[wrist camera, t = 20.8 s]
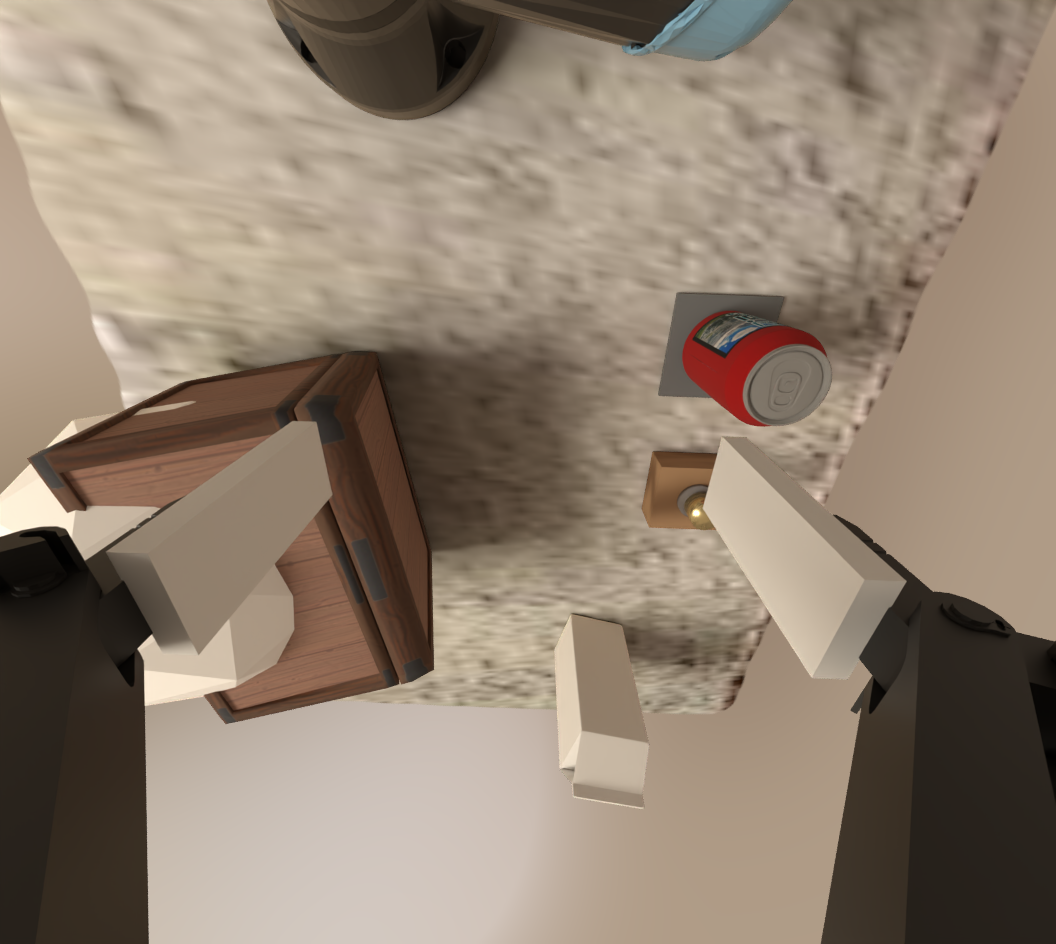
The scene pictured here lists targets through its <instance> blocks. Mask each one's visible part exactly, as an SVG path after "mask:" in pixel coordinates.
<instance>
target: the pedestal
mask: <svg viewBox="0 0 1056 944" xmlns="http://www.w3.org/2000/svg"><path fill="white" fill-rule="evenodd" d="M716 457H717V454H708V453H681V452H652V458H651V463H650V468H649V474H648V479H647V484H646V489H645V495H644V500H643V505H642V511H643V513H644V515H645V518H646V520H647V523H648V525H649V527H652V528H679V529H697V528H696V527H694V526H693V524H692V522H691V521H690V519H689V517H688V515H687V514H686V512H685V510H684V504H685V501H686V500H687V499H688V498H689V497H690V496H691V495H693V494H695V493H700V492H702V493H707V491H708V487H709V483H710V480H711V476H712V472H713V469H714V465H715V461H716ZM708 530H716V528H715V527H714V528H712V529H708Z"/></svg>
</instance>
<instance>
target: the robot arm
mask: <svg viewBox="0 0 1056 944" xmlns="http://www.w3.org/2000/svg"><path fill="white" fill-rule="evenodd" d="M267 2H268V4H269V6H270V8H271V10H272V12H273V15H274V17H275V19H276V21H277V22H278V24H279V26H280V28H281V30H282V31H283V33H284V35H285V36H286V38H287V39H288V41H289V42H290V44H291V45H292V47H293V48H294V50H295V51H296V52H297V54H298V55H299V56H300V58H301V59H302V60H303V61H304V63H305V64H306V65H307V66H308V67H309V68H310V69H311V71H312V72H313V73H314V74H315V75H316V76H317V77H318V78H319V79H320V80H322V81H323V82H324V83H325V84H326V85H327V86H329V87H330V88H331V89H332V90H334V91H335V92H336V93H337V94H339V95H340V96H341V97H343V98H344V99H345V100H347V101H348V102H350V103H351V104H353V105H354V106H356V107H358V108H360V109H361V110H364V111H366V112H368V113H371V114H373V115H376V116H380V117H383V118H388V119H396V120H409V119H417V118H421V117H425V116H428V115H431V114H433V113H436V112H438V111H439V110H441V109H443V108H445V107H446V106H448V105H449V104H451V103H452V102H453V101H454V100H456V99H457V98H458V97H459V96H460V95H461V94H462V93H463V92H464V91H465V90H466V89H467V88H468V86H469V85H470V84H471V83H472V81H473V80H474V79H475V77H476V75H477V74H478V72H479V71H480V69H481V67H482V65H483V63H484V61H485V59H486V57H487V55H488V53H489V50H490V48H491V45H492V42H493V39H494V36H495V33H496V29H497V25H498V20H499V15H500V14H501V15H505V16H509V17H513V18H516V19H520V20H524V21H528V22H532V23H536V24H540V25H543V26H547V27H551V28H555V29H559V30H563V31H567V32H571V33H574V34H578V35H582V36H586V37H590V38H594V39H598V40H602V41H605V42H609V43H613V44H617V45H621V46H622V48H623V51H624V52H625V53H628V54H631V55H634V56H642V55H646V54H649V53H652V52H654V53H659V54H665V55H670V56H675V57H680V58H685V59H691V60H696V61H711V60H717V59H720V58H723V57H725V56H726V55H728V54H730V53H731V52H733V51H734V50H736V49H737V48H739V47H742V46H745V45H746V44H748V43H749V42H751V41H752V40H753V39H755V38H756V37H757V36H758V35H759V34H760V33H761V32H763V31H764V30H765V29H766V28H767V27H768V26H769V25H770V24H771V23H772V22H773V21H774V20H775V19H776V18H777V17H778V16H779V15H780V14H781V13H782V12H783V11H784V9H785V8H786V7H787V6H788V5H789V4H790V3H791V2H792V0H267ZM331 496H332V491H331V486H330V482H329V477H328V473H327V468H326V463H325V459H324V454H323V450H322V445H321V441H320V436H319V432H318V427H317V423H316V422H308V421H292V422H290V423H289V424H288V425H286V426H285V427H283V428H282V429H280V430H279V431H278V432H276V433H275V434H273V435H272V436H270V437H269V438H268V439H266V440H265V441H263V442H262V443H260V444H259V445H258V446H256V447H255V448H253V449H252V450H250V451H249V452H248V453H246V454H245V455H243V456H242V457H241V458H239V459H238V460H236V461H235V462H233V463H232V464H231V465H229V466H228V467H226V468H225V469H223V470H222V471H221V472H219V473H218V474H216V475H215V476H213V477H212V478H211V479H209V480H208V481H206V482H205V483H203V484H202V485H201V486H199V487H198V488H196V489H195V490H193V491H192V492H191V493H189V494H188V495H186V496H184V497H181V498H179V499H177V500H175V501H172V502H170V503H168V504H167V505H165V506H164V507H162V508H161V509H160V510H158V511H157V512H155V513H154V514H152V515H151V518H146V519H145V520H144V521H142V522H141V523H139V524H138V525H136V528H132V529H130V530H129V531H128V532H126V533H125V534H123V535H122V536H120V537H119V538H117V539H116V540H114V541H113V542H112V543H110V544H109V545H107V546H106V547H104V548H103V549H101V550H100V551H98V552H97V553H96V554H94V555H93V556H91V557H90V558H88V559H87V560H84V558H83V557H82V555H81V553H80V552H79V550H78V548H77V547H76V545H75V543H74V542H73V540H72V538H71V537H70V535H69V533H68V531H67V530H66V529H65V528H61V527H58V526H44V527H36V528H31V529H25V530H21V531H17V532H14V533H11V534H7V535H4V536H1V537H0V944H149V936H148V935H149V933H148V877H147V876H148V873H147V813H146V759H145V758H146V756H145V755H146V754H145V692H144V660H143V658H142V656H141V654H140V652H139V650H138V648H139V647H140V646H141V645H142V644H143V643H144V642H145V641H146V640H147V639H148V638H149V637H150V636H151V635H152V636H153V637H154V639H155V641H156V643H157V645H158V646H159V648H160V650H161V652H162V653H163V654H177V655H199V654H200V653H201V652H202V651H203V649H204V648H205V647H206V646H207V645H208V643H209V642H210V641H211V640H212V639H213V637H214V636H215V635H216V634H217V633H218V631H219V630H220V629H221V628H222V627H223V625H224V624H225V623H226V622H227V621H228V619H229V618H230V617H231V616H232V615H233V613H234V612H235V611H236V610H237V609H238V607H239V606H240V605H241V604H242V603H243V601H244V600H245V599H246V598H247V597H248V595H249V594H250V593H251V592H252V591H253V589H254V588H255V587H256V586H257V585H258V583H259V582H260V581H261V580H262V579H263V577H264V576H265V575H266V574H267V573H268V571H269V570H270V569H271V568H272V567H273V565H274V564H275V563H276V562H277V561H278V559H279V558H280V557H281V556H282V555H283V553H284V552H285V551H286V550H287V549H288V547H289V546H290V545H291V544H292V543H293V541H294V540H295V539H296V538H297V537H298V535H299V534H300V533H301V532H302V531H303V529H304V528H305V527H306V526H307V525H308V523H309V522H310V521H311V520H312V519H313V517H314V516H315V515H316V514H317V513H318V511H319V510H320V509H321V508H322V507H323V506H324V504H325V503H326V502H327V501H328V500H329V498H330V497H331ZM703 510H704V511H705V513H706V514H707V516H708V517H709V519H710V520H711V522H712V524H713V525H714V527H715V528H716V530H717V531H718V533H719V534H720V536H721V538H722V539H723V541H724V542H725V544H726V545H727V547H728V548H729V550H730V552H731V553H732V555H733V556H734V558H735V559H736V561H737V562H738V564H739V566H740V567H741V569H742V570H743V572H744V573H745V575H746V576H747V578H748V580H749V581H750V583H751V584H752V586H753V587H754V589H755V590H756V592H757V594H758V595H759V597H760V598H761V600H762V601H763V603H764V604H765V606H766V608H767V609H768V611H769V612H770V614H771V615H772V617H773V618H774V620H775V622H776V623H777V625H778V626H779V628H780V629H781V631H782V633H783V634H784V635H785V637H786V639H787V640H788V642H789V643H790V645H791V647H792V648H793V650H794V651H795V653H796V654H797V656H798V657H799V659H800V661H801V662H802V664H803V665H804V667H805V668H806V670H807V671H808V673H809V675H810V676H811V677H812V678H824V679H825V678H826V679H848V678H849V676H850V675H851V673H852V671H853V670H854V668H855V666H856V665H857V663H858V661H859V660H861V662H862V663H863V664H864V665H865V667H866V668H867V669H868V670H869V671H870V673H871V674H872V675H873V676H872V677H871V679H870V680H869V682H868V684H867V685H866V687H865V688H864V690H863V691H862V693H861V694H860V696H859V698H858V699H857V701H856V702H855V704H854V706H853V707H852V708H851V711H852V712H854V713H856V714H857V713H858V711H859V710H860V708H861V713H860V719H859V726H858V731H857V737H856V742H855V748H854V754H853V760H852V766H851V772H850V777H849V783H848V789H847V795H846V801H845V807H844V812H843V818H842V824H841V830H840V835H839V841H838V847H837V853H836V859H835V864H834V871H833V876H832V882H831V888H830V894H829V899H828V905H827V911H826V917H825V923H824V928H823V935H822V941H821V944H1056V641H1055V642H1054V641H1050V640H1046V639H1042V638H1037V637H1034V636H1030V635H1025V634H1021V633H1017V632H1016V631H1015V629H1014V628H1013V627H1012V626H1011V625H1010V624H1009V623H1008V622H1006V621H1005V620H1004V619H1003V618H1002V617H1001V616H999V615H998V614H996V613H994V612H993V611H991V610H989V609H988V608H986V607H985V606H982V605H980V604H978V603H976V602H974V601H971V600H969V599H967V598H964V597H960V596H957V595H953V594H950V593H942V592H933V591H931V590H930V589H929V588H928V587H927V586H925V584H923V583H922V582H921V581H920V580H919V579H918V578H916V577H915V576H914V575H913V574H912V573H911V572H909V571H908V570H907V569H906V568H905V567H904V566H903V565H901V564H900V563H899V562H898V561H897V560H896V559H894V558H893V557H892V556H891V555H889V554H886V551H885V550H884V549H883V548H882V547H881V546H879V545H878V544H877V543H873V540H872V539H871V538H870V537H869V536H868V535H867V534H865V533H864V532H863V531H862V530H861V529H860V528H858V527H857V526H855V525H853V524H852V523H850V522H848V521H846V520H845V519H843V518H841V517H839V516H837V515H832V514H831V513H830V512H829V511H828V510H826V509H825V508H824V507H823V506H822V505H821V504H820V503H819V502H817V501H816V500H815V499H814V498H813V497H812V496H811V495H810V494H809V493H807V492H806V491H805V490H804V489H803V488H802V487H801V486H800V485H799V484H797V483H796V482H795V481H794V480H793V479H792V478H791V477H790V476H788V475H787V474H786V473H785V472H784V471H783V470H782V469H781V468H780V467H778V466H777V465H776V464H775V463H774V462H773V461H772V460H771V459H769V458H768V457H767V456H766V455H765V454H764V453H763V452H762V451H761V450H759V449H758V448H757V447H756V446H755V445H754V444H753V443H752V442H751V441H749V440H748V439H747V438H746V437H722V439H721V443H720V446H719V450H718V454H717V457H716V461H715V465H714V469H713V472H712V476H711V480H710V483H709V487H708V491H707V494H706V498H705V502H704V505H703Z"/></svg>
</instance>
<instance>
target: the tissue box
mask: <svg viewBox="0 0 1056 944" xmlns="http://www.w3.org/2000/svg"><path fill="white" fill-rule="evenodd" d="M292 421H308V422H316V423H317V427H318V432H319V436H320V441H321V445H322V450H323V454H324V459H325V463H326V468H327V473H328V477H329V482H330V486H331V491H332V496H331V497H330V498H329V500H328V501H327V502H326V503H325V504H324V506H323V507H322V508H321V509H320V510H319V511H318V513H317V514H316V515H315V516H314V517H313V519H312V520H311V521H310V522H309V523H308V525H307V526H306V527H305V528H304V529H303V531H302V532H301V533H300V534H299V535H298V537H297V538H296V539H295V540H294V541H293V543H292V544H291V545H290V546H289V547H288V549H287V550H286V551H285V552H284V553H283V555H282V556H281V557H280V558H279V559H278V561H277V562H276V563H275V564H274V565H273V567H272V568H271V569H270V570H269V571H268V573H267V574H266V575H265V576H264V577H263V579H262V580H261V581H260V582H259V583H258V585H257V586H256V587H255V588H254V589H253V591H252V592H251V593H250V594H249V595H248V597H247V598H246V599H245V600H244V601H243V603H242V604H241V605H240V606H239V607H238V609H237V610H236V611H235V612H234V613H233V615H232V616H231V617H230V618H229V619H228V621H227V622H226V623H225V624H224V625H223V627H222V628H221V629H220V630H219V631H218V633H217V634H216V635H215V636H214V637H213V639H212V640H211V641H210V642H209V643H208V645H207V646H206V647H205V648H204V649H203V651H202V652H201V653H200V654H199V655H177V654H163V653H162V652H161V650H160V648H159V646H158V645H157V643H156V641H155V639H154V637H153V636H152V635H151V636H150V637H149V638H148V639H147V640H146V641H145V642H144V643H143V644H142V645H141V646H140V647H139V648H138V650H139V652H140V654H141V656H142V658H143V660H144V692H145V706H148V705H154V704H160V703H166V702H172V701H179V700H184V699H191V698H197V697H203V696H205V698H206V699H207V700H208V702H209V703H210V704H211V706H212V707H213V708H214V710H215V711H216V712H217V714H218V715H219V716H220V718H221V719H222V720H223V721H224V723H225V724H228V723H233V722H238V721H243V720H247V719H251V718H256V717H260V716H265V715H269V714H274V713H278V712H283V711H287V710H292V709H296V708H301V707H305V706H310V705H314V704H318V703H323V702H327V701H332V700H336V699H341V698H345V697H350V696H354V695H359V694H363V693H367V692H372V691H376V690H381V689H385V688H389V687H392V686H395V685H398V684H399V680H400V682H401V684H404V683H408V682H412V681H414V680H416V679H417V678H419V677H421V676H423V675H425V674H427V673H428V672H430V671H432V670H434V646H433V596H432V552H431V548H430V544H429V541H428V537H427V533H426V530H425V526H424V523H423V519H422V515H421V512H420V508H419V505H418V501H417V497H416V494H415V490H414V486H413V483H412V479H411V476H410V472H409V468H408V465H407V461H406V458H405V454H404V450H403V447H402V443H401V439H400V436H399V432H398V429H397V425H396V421H395V418H394V414H393V411H392V407H391V403H390V400H389V396H388V392H387V389H386V385H385V382H384V378H383V374H382V371H381V367H380V364H379V360H378V356H377V353H376V352H349V353H344V354H337V355H329V356H324V357H318V358H313V359H307V360H301V361H296V362H290V363H285V364H279V365H274V366H268V367H262V368H257V369H251V370H246V371H240V372H235V373H229V374H224V375H218V376H212V377H207V378H201V379H196V380H191V381H186V382H183V383H180V384H178V385H176V386H174V387H172V388H170V389H167V390H165V391H163V392H161V393H159V394H157V395H155V396H153V397H151V398H149V399H147V400H145V401H143V402H141V403H139V404H137V405H134V406H132V407H130V408H128V409H126V410H124V411H122V412H118V413H112V414H107V415H100V416H94V417H89V418H82V419H76V420H73V421H72V422H71V423H70V424H69V425H68V426H67V427H66V428H65V429H64V430H63V431H62V432H61V433H60V434H59V435H58V436H57V437H56V438H55V439H54V440H53V441H52V442H51V443H50V444H49V445H48V446H47V447H46V448H45V449H44V450H42V451H40V452H38V453H36V454H35V455H33V456H31V457H29V458H27V459H28V460H29V462H30V463H31V464H30V465H29V466H28V467H27V468H26V469H25V470H24V471H23V472H22V473H21V474H20V475H19V476H18V477H17V478H16V479H15V480H14V481H13V482H12V483H11V484H10V485H9V486H8V487H7V488H6V490H4V491H3V493H1V495H0V537H1V536H4V535H7V534H11V533H14V532H17V531H21V530H25V529H31V528H36V527H44V526H58V527H61V528H65V529H66V530H67V531H68V533H69V535H70V537H71V538H72V540H73V542H74V543H75V545H76V547H77V548H78V550H79V552H80V553H81V555H82V557H83V558H84V560H87V559H88V558H90V557H91V556H93V555H94V554H96V553H97V552H98V551H100V550H101V549H103V548H104V547H106V546H107V545H109V544H110V543H112V542H113V541H114V540H116V539H117V538H119V537H120V536H122V535H123V534H125V533H126V532H128V531H129V530H130V529H132V528H136V525H138V524H139V523H141V522H142V521H144V520H145V519H146V518H151V515H152V514H154V513H155V512H157V511H158V510H160V509H161V508H162V507H164V506H165V505H167V504H168V503H170V502H172V501H175V500H177V499H179V498H181V497H184V496H186V495H188V494H189V493H191V492H192V491H193V490H195V489H196V488H198V487H199V486H201V485H202V484H203V483H205V482H206V481H208V480H209V479H211V478H212V477H213V476H215V475H216V474H218V473H219V472H221V471H222V470H223V469H225V468H226V467H228V466H229V465H231V464H232V463H233V462H235V461H236V460H238V459H239V458H241V457H242V456H243V455H245V454H246V453H248V452H249V451H250V450H252V449H253V448H255V447H256V446H258V445H259V444H260V443H262V442H263V441H265V440H266V439H268V438H269V437H270V436H272V435H273V434H275V433H276V432H278V431H279V430H280V429H282V428H283V427H285V426H286V425H288V424H289V423H290V422H292Z"/></svg>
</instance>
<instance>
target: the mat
mask: <svg viewBox="0 0 1056 944" xmlns="http://www.w3.org/2000/svg"><path fill="white" fill-rule="evenodd" d="M783 300H784V297H778V296H750V295H722V294H694V293H677V295H676V300H675V306H674V311H673V317H672V322H671V328H670V333H669V339H668V344H667V350H666V355H665V360H664V366H663V371H662V377H661V382H660V388H659V393H658V395H659V396H675V397H703V398H712V397H711V396H709V395H708V394H707V393H706V392H705V391H703V390H702V389H701V388H700V387H699V386H698V385H697V384H696V383H694V382H693V381H692V380H691V379H690V378H689V377H688V375H687V374H686V372H685V369H684V366H683V361H682V353H683V348H684V344H685V342H686V339H687V337H688V335H689V334H690V332H691V331H692V330H693V328H694V327H695V326H696V325H697V324H698V323H699V322H701V321H702V320H703V319H705V318H706V317H708V316H710V315H712V314H715V313H718V312H722V311H737V312H741V313H745V314H748V315H752V316H756V317H759V318H762V319H766V320H769V321H773V322H776V323H777V320H778V317H779V313H780V310H781V307H782V303H783Z"/></svg>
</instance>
